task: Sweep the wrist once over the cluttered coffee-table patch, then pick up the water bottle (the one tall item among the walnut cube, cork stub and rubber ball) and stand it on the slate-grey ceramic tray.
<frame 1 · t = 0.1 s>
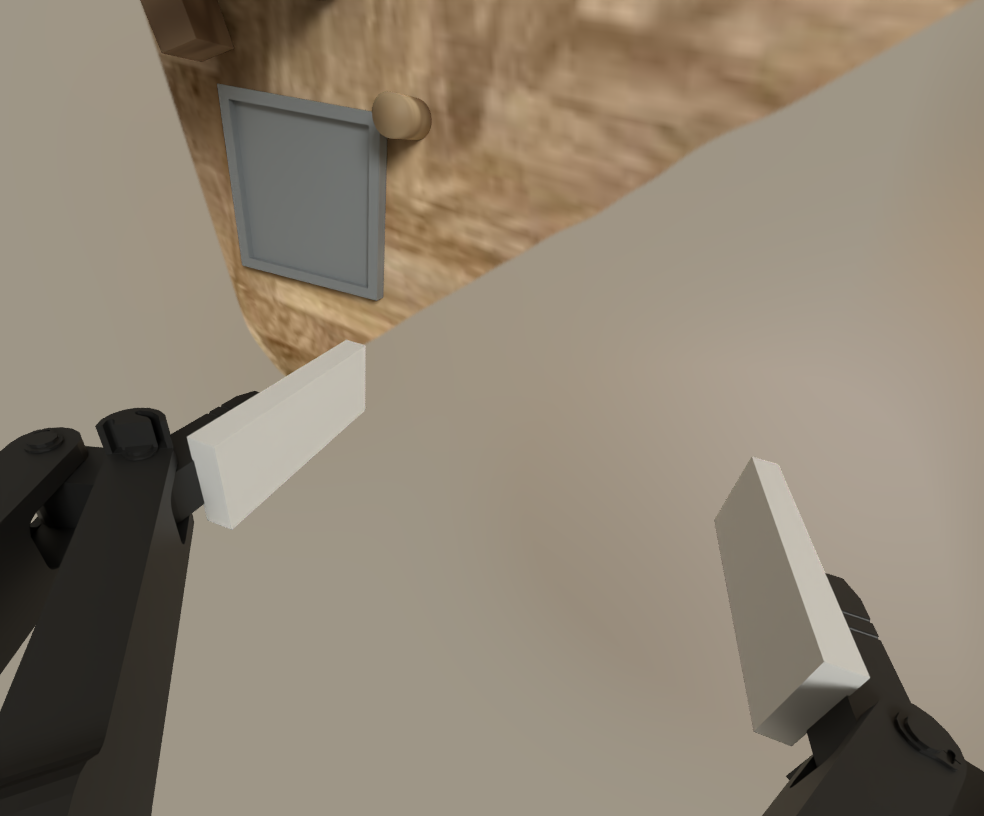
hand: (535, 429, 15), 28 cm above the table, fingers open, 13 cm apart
walnut cube: (207, 27, 39), on the table
tray: (310, 198, 43), on the table
cork stub: (414, 119, 37), on the table
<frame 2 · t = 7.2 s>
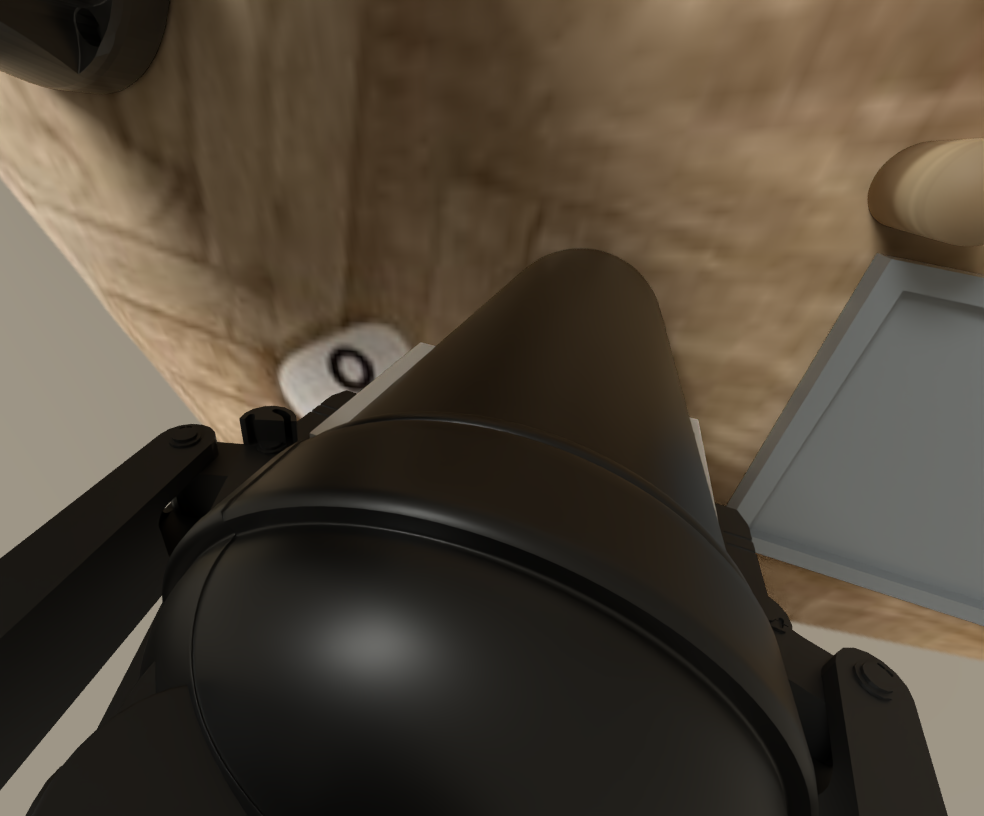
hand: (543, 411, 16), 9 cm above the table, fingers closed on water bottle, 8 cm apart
tray: (958, 461, 21), on the table
water bottle: (576, 331, 24), on the table, touching gripper
cork stub: (916, 186, 17), on the table
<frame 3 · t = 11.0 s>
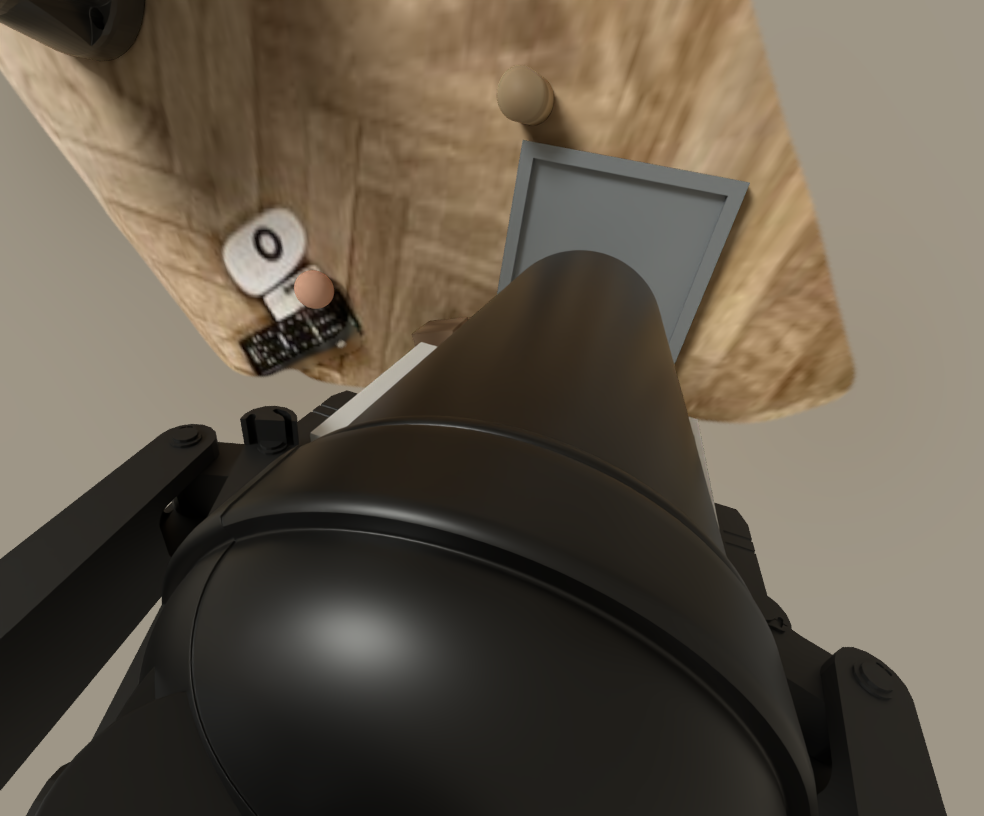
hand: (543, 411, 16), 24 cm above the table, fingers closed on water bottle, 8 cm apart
walnut cube: (452, 338, 44), on the table
tray: (600, 270, 37), on the table
water bottle: (576, 332, 24), point 16 cm above the table, touching gripper
cork stub: (533, 101, 33), on the table
rubber ball: (325, 285, 45), on the table
when the fingers open (11 cm above the table, at t = 14.9 s): water bottle drops 1 cm, resting on tray.
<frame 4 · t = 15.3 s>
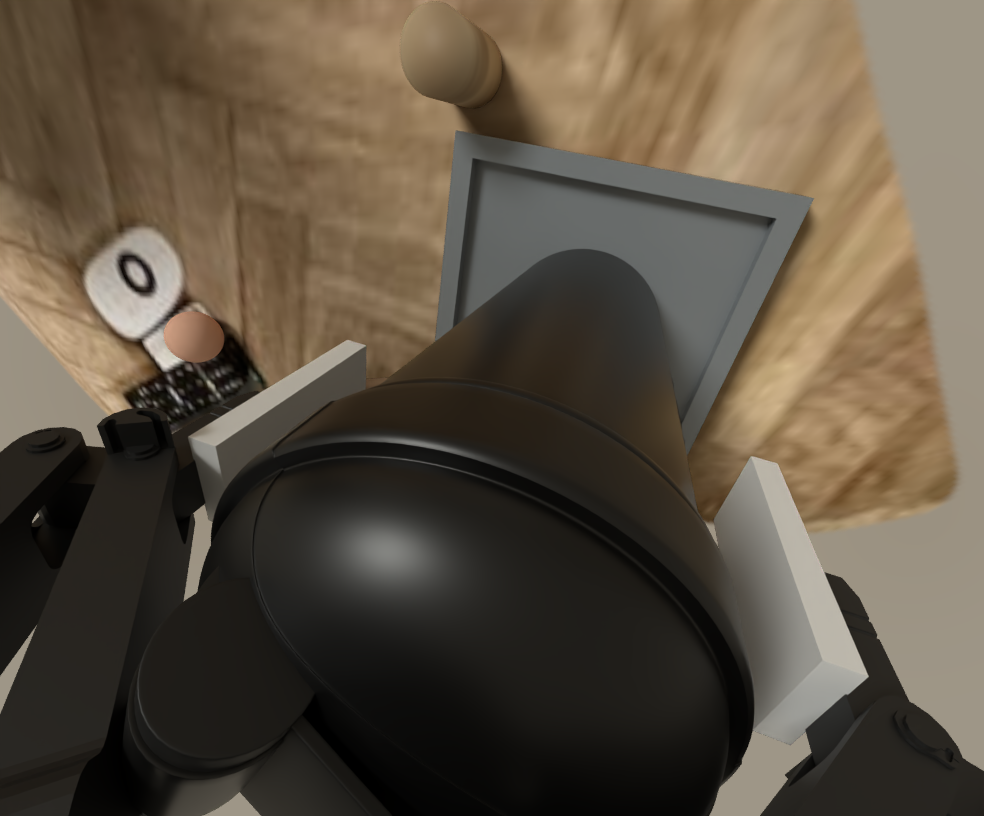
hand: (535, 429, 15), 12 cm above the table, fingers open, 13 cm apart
tray: (579, 321, 25), on the table
water bottle: (578, 327, 25), resting on tray
cork stub: (471, 70, 21), on the table
rubber ball: (215, 329, 34), on the table
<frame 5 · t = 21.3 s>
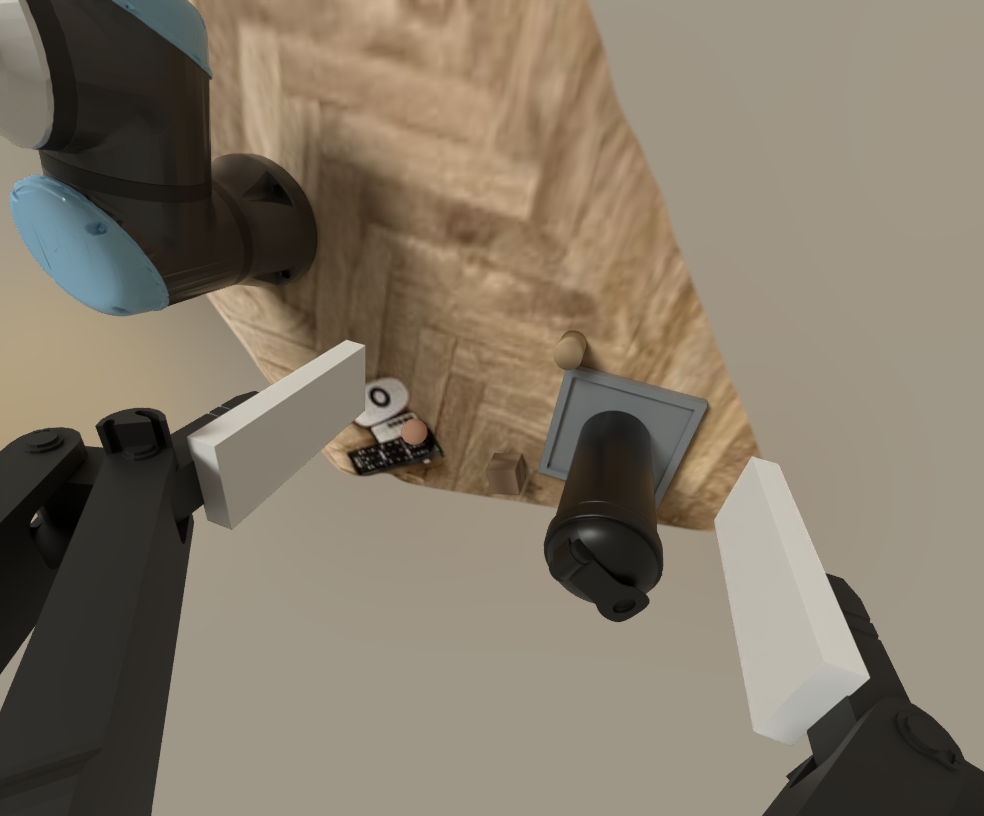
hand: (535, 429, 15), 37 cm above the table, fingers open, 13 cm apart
walnut cube: (510, 465, 63), on the table
tray: (614, 436, 56), on the table
water bottle: (614, 439, 56), resting on tray
cork stub: (573, 343, 52), on the table
rubber ball: (419, 425, 64), on the table
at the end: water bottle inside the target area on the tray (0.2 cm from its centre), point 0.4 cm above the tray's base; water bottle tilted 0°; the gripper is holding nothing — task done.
